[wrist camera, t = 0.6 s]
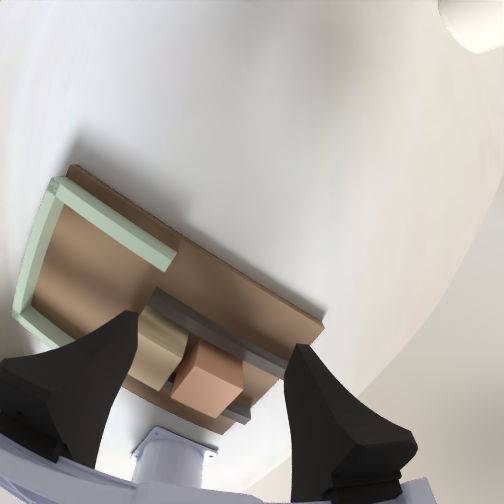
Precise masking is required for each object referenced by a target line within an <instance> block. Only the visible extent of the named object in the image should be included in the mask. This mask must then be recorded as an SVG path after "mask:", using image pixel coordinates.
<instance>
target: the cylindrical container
mask: <svg viewBox="0 0 504 504" xmlns="http://www.w3.org/2000/svg"><path fill="white" fill-rule="evenodd" d="M438 6H439V12H440V15H441V18H442V20H443V22H444V24H445V26H446V27H447V29H448V30H449V32H450V33H451V34H452V36H453V37H454V38H455V39H456V40H457V41H458V42H459V43H460V44H461V45H462V46H463V47H465V48H466V49H468V50H469V51H471V52H474V53H483V52H486V51H489V50H492V49H495V48H498V47H502V46H504V0H440V1H439V5H438Z"/></svg>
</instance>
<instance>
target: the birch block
mask: <svg viewBox="0 0 504 504" xmlns="http://www.w3.org/2000/svg"><path fill="white" fill-rule="evenodd" d="M189 333H190V331H188V330H187V329H185V328H183V327H182V326H180V325H178V324H176V323H175V322H173V321H171V320H170V319H168V318H167V317H165V316H163V315H162V314H160V313H158V312H157V311H155V310H154V309H152V308H150V307H149V306H147V305H146V306H145V308H144V309H143V311H142V313H141V314H140V316H139V317H138V348H137V351H136V354H135V357H134V360H133V363H132V366H131V368H130V370H129V372H128V374H129V375H131V376H132V377H134V378H136V379H137V380H139V381H141V382H143V383H145V384H146V385H148V386H150V387H152V388H154V389H155V390H157V391H159V390H160V389H161V387H162V386H163V385H164V383H165V382H166V381H167V379H168V378H169V376H170V375H171V374H172V372H173V371H174V369H175V368H176V367H177V365H178V364H179V363H180V361H181V360H182V358H183V354H184V351H185V347H186V344H187V340H188V336H189Z"/></svg>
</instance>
